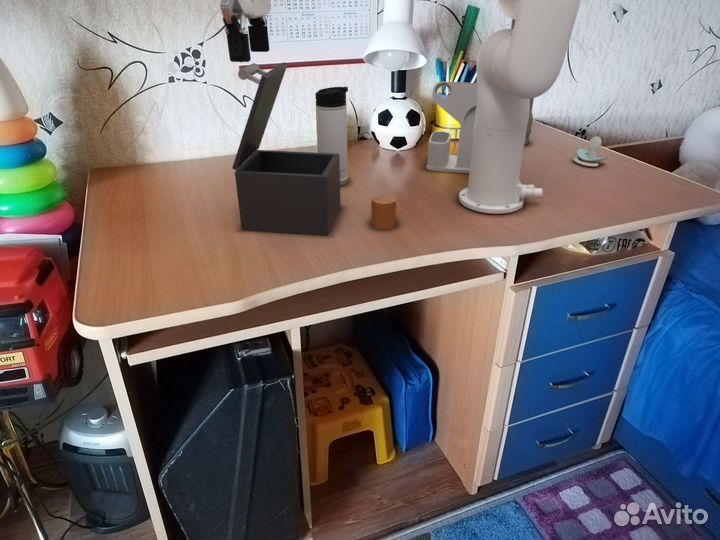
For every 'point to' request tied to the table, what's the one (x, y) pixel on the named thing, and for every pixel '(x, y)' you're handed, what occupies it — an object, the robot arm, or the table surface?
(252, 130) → the lid
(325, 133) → the travel mug
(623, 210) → the table surface
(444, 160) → the gray holder stand
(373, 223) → the orange cylinder
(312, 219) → the dark storage box
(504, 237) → the table surface
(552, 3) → the robot arm
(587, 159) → the pacifier
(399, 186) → the table surface
